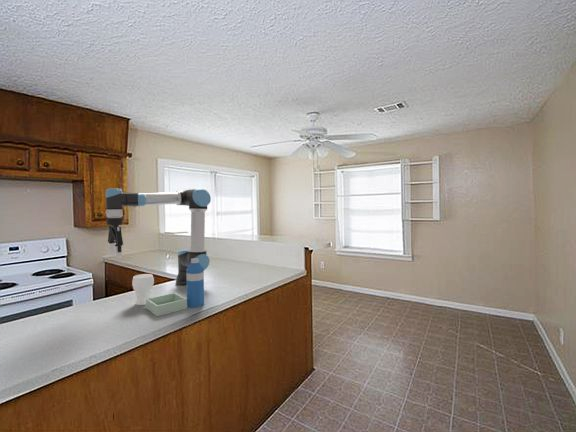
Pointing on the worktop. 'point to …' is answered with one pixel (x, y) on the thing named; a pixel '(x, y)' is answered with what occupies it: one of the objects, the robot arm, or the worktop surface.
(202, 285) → the water bottle
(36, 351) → the worktop surface
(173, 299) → the dish rack
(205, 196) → the robot arm
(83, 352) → the worktop surface
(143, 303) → the cup
